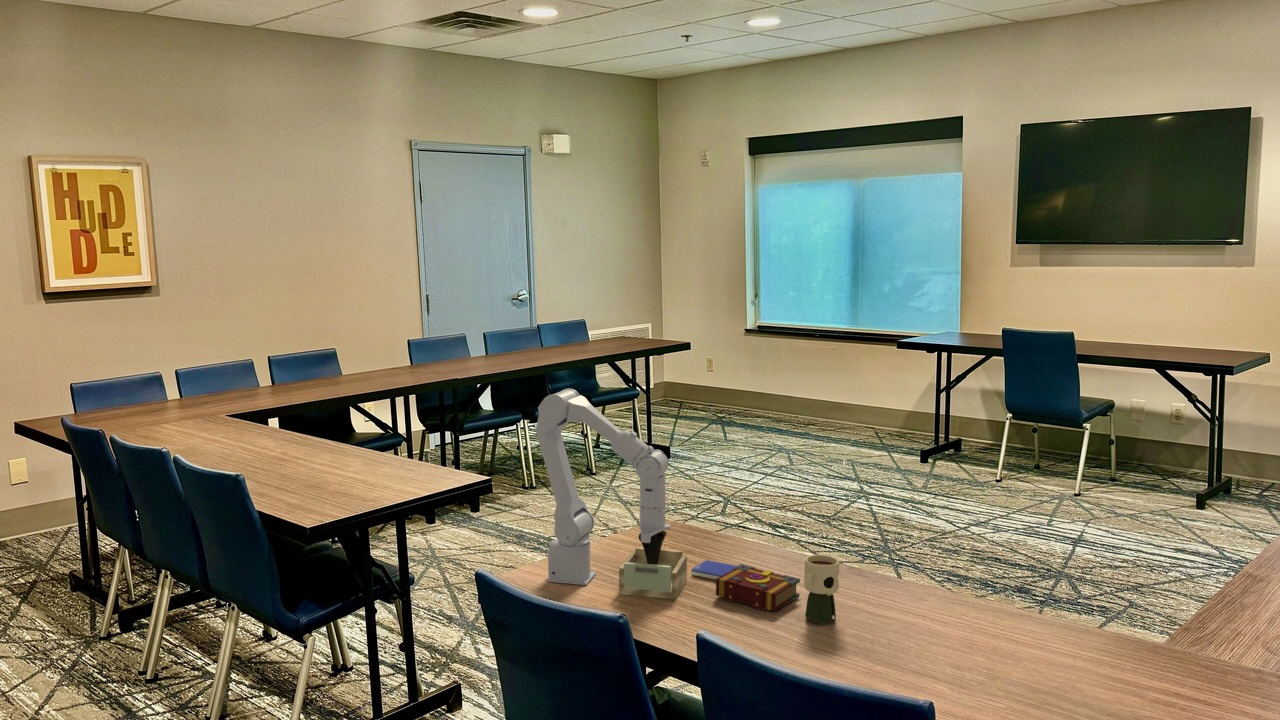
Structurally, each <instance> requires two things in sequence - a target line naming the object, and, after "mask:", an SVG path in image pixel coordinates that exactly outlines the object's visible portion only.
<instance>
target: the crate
mask: <svg viewBox="0 0 1280 720" xmlns="http://www.w3.org/2000/svg"><path fill="white" fill-rule="evenodd" d="M634 549H635V550H632V551H631V552H630V553H629V554H628V556H627V557H626V558H625V560H624V561H623V563H622V564H621V565H620V566H619V568H618V592H619V593H618V594H619V595H624V596H625V595H627V596H635V597H636V596H637V597H647V598H656V599H657V598H659V599H668V600H669V599H670V600H677V599H678V597H679V595H680V594H681V591H682V589H683V588H684V586H685V584H686V582H687V580H688V576H687V575H688V573H687V572H688V564H687V563H688V554H683V552H684V551H683V550H678V549H668V548H667V549H664V548H661V551H660V556H659V561H658V564H657V565H666V566H671V591H670V592H665V591H654V590H642V589H631V588H624V563H625V562H630V563H642V564H648V563H647V560H646V555H645V551H644V548H643V547H642V546H641V547H638V546H636V547H635V548H634Z"/></svg>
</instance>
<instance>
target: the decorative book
mask: <svg viewBox="0 0 1280 720" xmlns="http://www.w3.org/2000/svg"><path fill="white" fill-rule="evenodd" d="M736 566H737V567H735V568H733V570H731V571H729V572H728V573H726V574H724V575H722V576H720V577H718V578H716V579H715V580H716V581H715V596H718V597H720V598H725V599H726V601H730V602H732V603H736V602H739V603H743V604H746V605H750V606H752V607H753V609H758V610H763V609H764V610H768V611H771V612H776V611H778V610H779V609H781V608H783V607H784V606H785V605H787V604H788V603H790V602H793V601H795V600H796V599H797V600H798V598H800V593H798V592H797V585H798V584H799V583H800V582H801V578H798V577H795V576H790V575H786V574H784V575H782V574H779V573H774V571H773V570H770V569H766V570H762V569H760V568H756V567H755V566H749V565H747V564H743V563H740V564H738V565H736Z"/></svg>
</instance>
